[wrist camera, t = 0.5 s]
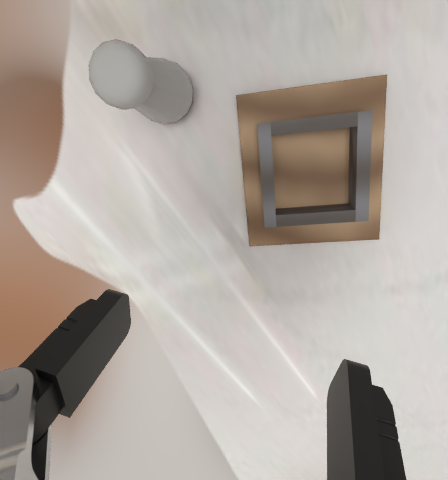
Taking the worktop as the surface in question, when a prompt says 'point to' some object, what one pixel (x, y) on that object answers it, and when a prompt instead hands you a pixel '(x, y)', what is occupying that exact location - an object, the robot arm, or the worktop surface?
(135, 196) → the worktop surface
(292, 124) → the socket board
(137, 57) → the salt shaker
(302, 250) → the worktop surface
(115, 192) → the worktop surface
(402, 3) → the worktop surface
